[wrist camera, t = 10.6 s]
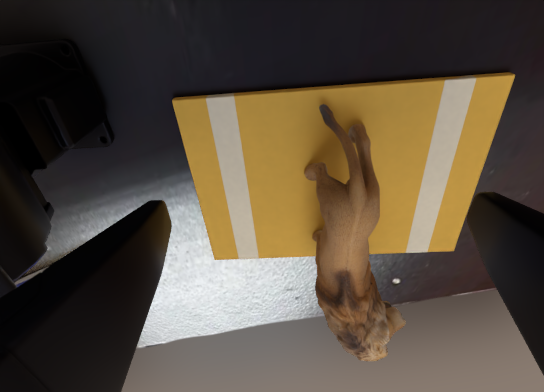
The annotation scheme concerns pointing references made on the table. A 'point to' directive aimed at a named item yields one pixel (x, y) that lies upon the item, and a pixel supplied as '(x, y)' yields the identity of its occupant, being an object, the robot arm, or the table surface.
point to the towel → (339, 160)
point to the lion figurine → (351, 249)
